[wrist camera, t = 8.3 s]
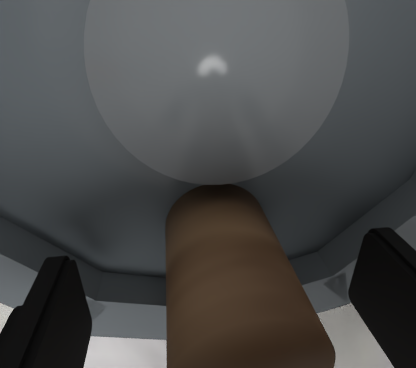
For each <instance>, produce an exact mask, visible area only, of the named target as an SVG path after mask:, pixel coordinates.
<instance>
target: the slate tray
mask: <svg viewBox="0 0 416 368" xmlns="http://www.w3.org/2000/svg"><path fill="white" fill-rule="evenodd" d="M222 184H233V185H236V186H239V187H242V188H243V189H245V190H247V191H248V192H250V193H251V194H252V195H253V196H254V197H255V198H256V199H257V201H258V202H259V204H260V206H261V208H262V210H263V211H264V213H265V215H266V217H267V219H268V221H269V223H270V225H271V227H272V229H273V231H274V233H275V235H276V236H277V238H278V240H279V242H280V244H281V246H282V248H283V250H284V252H285V254H286V256H287V258H288V260H289V262H290V263H291V265H292V267H293V269H294V271H295V273H296V275H297V277H298V279H299V281H300V283H301V285H302V287H303V289H304V290H305V292H306V294H307V296H308V298H309V300H310V302H311V304H312V306H313V308H314V310H315V312H316V313H320V312H323V311H326V310H330V309H333V308H337V307H340V306H343V305H347V304H349V303H350V302H351V301H350V299H349V295H348V289H349V286H350V282H351V279H352V275H353V272H354V268H355V265H356V261H357V258H358V255H359V251H360V248H361V244H362V241H363V237H364V235H365V234H366V233H368V231H369V230H370V229H372V228H383V227H389V228H391V229H393V230H394V231H395V232H396V233H397V234H398V235H399V236H400V237H402V238H403V239H404V240H405V241H406V242H407V243H408V244H409V245H410V246H411V247H412V248H414V249H415V250H416V0H0V303H2V304H5V305H7V306H9V307H12V308H16V307H17V306H21V305H23V303H24V301H25V299H26V297H27V295H28V293H29V291H30V289H31V287H32V285H33V283H34V281H35V279H36V277H37V274H38V272H39V270H40V268H41V266H42V264H43V262H44V260H45V259H46V258H47V257H55V256H68V257H69V258H70V260H75V261H76V263H77V267H78V271H79V274H80V278H81V281H82V285H83V289H84V292H85V296H86V300H87V303H88V307H89V310H90V314H91V318H92V332H91V336H100V337H120V338H140V339H160V340H167V334H166V237H165V225H166V219H167V216H168V213H169V211H170V209H171V208H172V206H173V205H174V203H175V202H176V201H177V200H178V199H179V198H180V197H181V196H183V195H184V194H185V193H187V192H188V191H190V190H192V189H194V188H196V187H199V186H202V185H222Z"/></svg>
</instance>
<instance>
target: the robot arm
mask: <svg viewBox="0 0 416 368" xmlns="http://www.w3.org/2000/svg"><path fill="white" fill-rule="evenodd" d="M348 295H349V299H350V301H351V303H352V304H353V306H354V307H355V309H356V310H357V312H358V313H359V315H360V316H361V318H362V319H363V321H364V322H365V324H366V325H367V327H368V328H369V330H370V331H371V333H372V334H373V336H374V337H375V339H376V340H377V342H378V344H379V345H380V347H381V348H382V350H383V351H384V353H385V354H386V356H387V357H388V359H389V360H390V362H391V363H392V365H393V366H394V368H416V250H415V249H414V248H412V247H411V246H410V245H409V244H408V243H407V242H406V241H405V240H404V239H403V238H402V237H400V236H399V235H398V234H397V233H396V232H395V231H394V230H393V229H391V228H389V227H383V228H372V229H370V230H369V231H368V233H366V234H365V235H364V237H363V241H362V244H361V248H360V251H359V255H358V258H357V261H356V265H355V268H354V272H353V275H352V279H351V282H350V286H349V289H348ZM91 332H92V318H91V314H90V310H89V307H88V303H87V300H86V296H85V292H84V289H83V285H82V281H81V278H80V274H79V271H78V267H77V263H76V261H75V260H70V258H69V257H68V256H55V257H47V258H46V259H45V260H44V262H43V264H42V266H41V268H40V270H39V272H38V274H37V277H36V279H35V281H34V283H33V285H32V287H31V289H30V291H29V293H28V295H27V297H26V299H25V301H24V303H23V305H21V306H17V307H16V308H14V309H13V311H12V312H11V314H10V316H9V318H8V320H7V322H6V324H5V326H4V328H3V329H2V331H1V333H0V368H83V367H84V362H85V358H86V354H87V349H88V345H89V340H90V336H91Z"/></svg>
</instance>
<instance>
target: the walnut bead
mask: <svg viewBox="0 0 416 368" xmlns="http://www.w3.org/2000/svg"><path fill="white" fill-rule="evenodd" d="M165 237H166V334H167V368H333V367H334V363H335V350H334V347H333V345H332V343H331V341H330V339H329V337H328V335H327V333H326V331H325V329H324V327H323V325H322V323H321V321H320V319H319V317H318V316H317V314H316V312H315V310H314V308H313V306H312V304H311V302H310V300H309V298H308V296H307V294H306V292H305V290H304V289H303V287H302V285H301V283H300V281H299V279H298V277H297V275H296V273H295V271H294V269H293V267H292V265H291V263H290V262H289V260H288V258H287V256H286V254H285V252H284V250H283V248H282V246H281V244H280V242H279V240H278V238H277V236H276V235H275V233H274V231H273V229H272V227H271V225H270V223H269V221H268V219H267V217H266V215H265V213H264V211H263V210H262V208H261V206H260V204H259V202H258V201H257V199H256V198H255V197H254V196H253V195H252V194H251V193H250V192H248V191H247V190H245V189H243V188H242V187H239V186H236V185H233V184H222V185H202V186H199V187H196V188H194V189H192V190H190V191H188V192H187V193H185V194H184V195H183V196H181V197H180V198H179V199H178V200H177V201H176V202H175V203H174V205H173V206H172V208H171V209H170V211H169V213H168V216H167V219H166V225H165Z"/></svg>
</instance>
